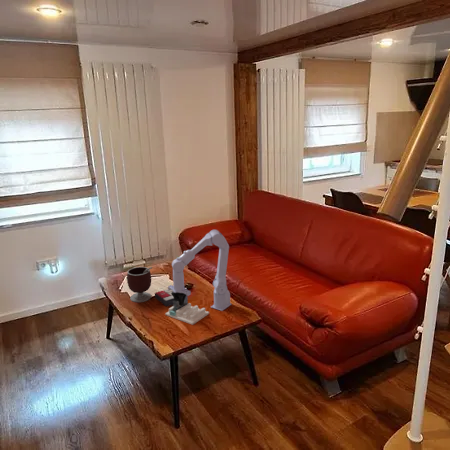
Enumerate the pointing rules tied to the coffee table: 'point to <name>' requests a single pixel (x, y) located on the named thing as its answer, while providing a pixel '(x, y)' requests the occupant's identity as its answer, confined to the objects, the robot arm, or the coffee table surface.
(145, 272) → the mate gourd
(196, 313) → the rack
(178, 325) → the coffee table surface
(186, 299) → the panel
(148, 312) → the coffee table surface
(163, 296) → the calculator
